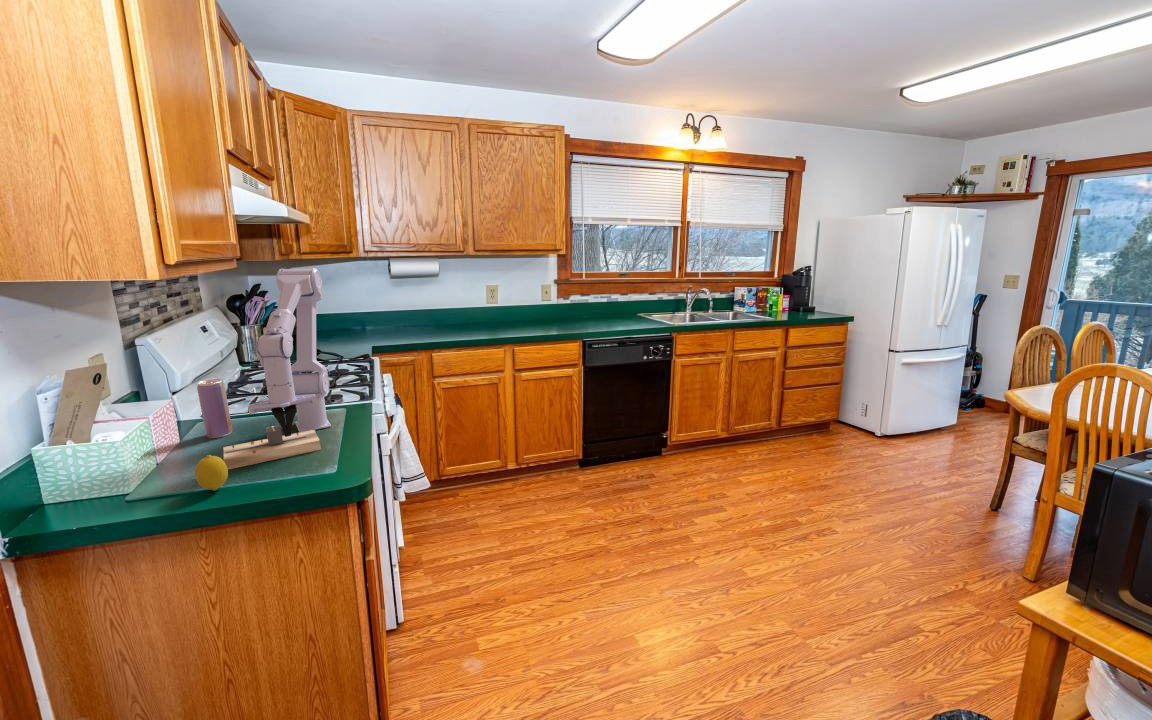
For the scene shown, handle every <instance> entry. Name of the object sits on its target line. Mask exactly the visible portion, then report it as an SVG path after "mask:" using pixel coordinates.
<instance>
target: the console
mask: <svg viewBox="0 0 1152 720" xmlns="http://www.w3.org/2000/svg"><path fill="white" fill-rule="evenodd" d="M282 438H283V443H279V444H274V445H269V443H268V439H267V438H264V439H259V440H255V441H249V442H242V443H238V444H233V445H229V446H223V461H224V462H225V464H226V466H227V469H228V470H233V469H237V468H242V467H246V466H251V465H256V464H260V463H264V462H269V461H275V460H278V459H283V458H284V459H285V458H288V457H294V456H297V455H303V454H307V453H312V452H316V451H320V450H321V451H322V448H321V440H320V438H319V436H318V434H317V432H316V430H310V431H305V432H299V431H298V432H295V433H294V432H293V433H291V436H288V437H285V435H284V434H283V435H282Z"/></svg>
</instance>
